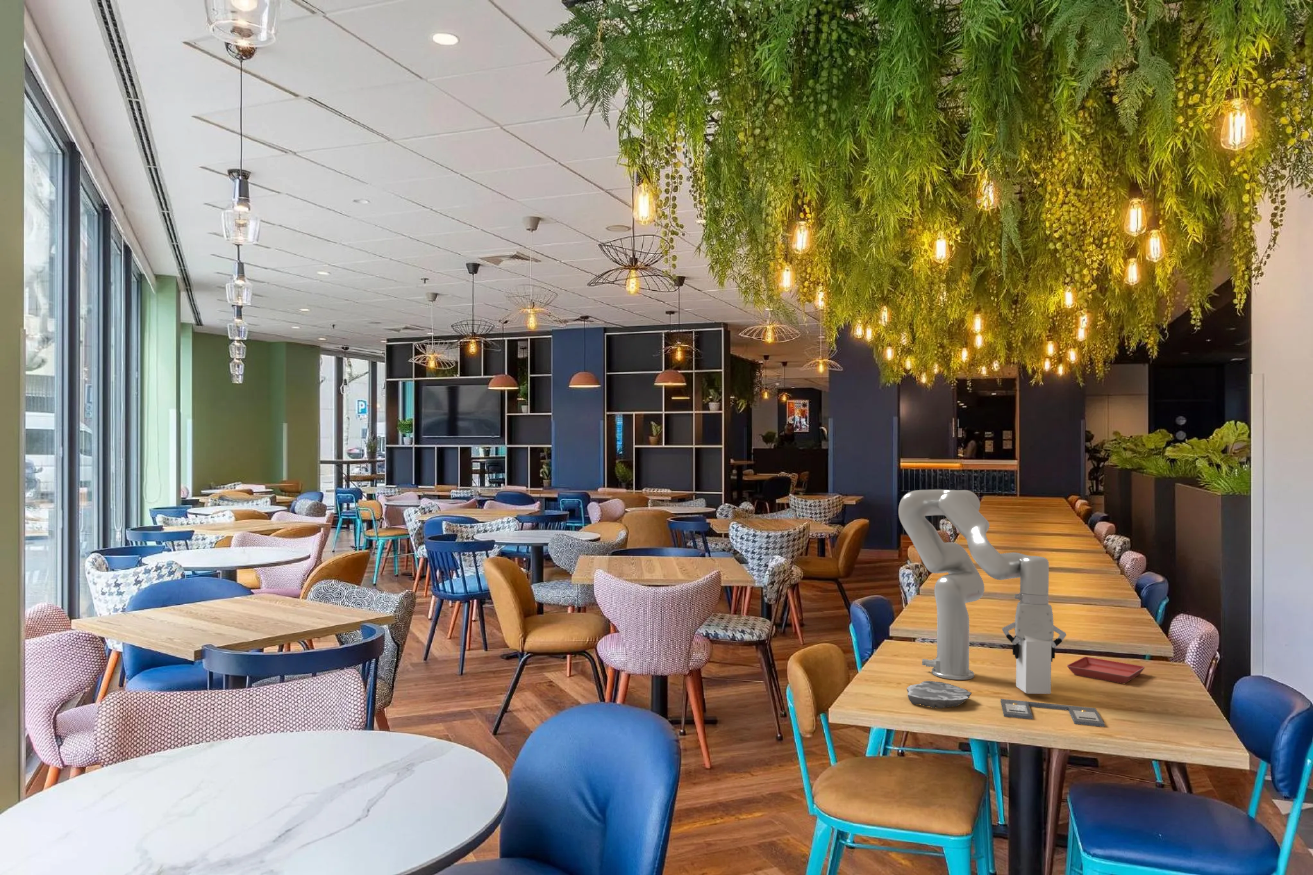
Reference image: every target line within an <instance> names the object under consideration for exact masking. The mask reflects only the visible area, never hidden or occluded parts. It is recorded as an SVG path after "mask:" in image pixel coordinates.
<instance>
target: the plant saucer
mask: <svg viewBox="0 0 1313 875" xmlns="http://www.w3.org/2000/svg"><path fill="white" fill-rule="evenodd" d="M1066 667H1067V668H1068V669H1069V670H1070V671H1071V673H1072V674H1073V675H1074V676H1078V677H1079V676H1080V677H1085V678H1091V679H1094V680H1095V679H1096V680H1101V681H1106V682H1111V681H1112V683H1117V684H1122V683H1125V684H1126V683H1128V682H1130V681H1129V680H1132V679H1133V680H1134V679H1135V678H1136V677H1138V676H1139V675H1140V674H1141V673H1142V672H1143V670H1145V668H1146V667H1145V666H1143V665H1137V664H1131V663H1126V662H1120V661H1115V660H1109V659H1102V658H1096V657H1090V656H1089V657H1088V656H1084V657H1081V658H1079V659H1077V660H1075V661H1073V662H1071V663H1069V664H1067V665H1066Z"/></svg>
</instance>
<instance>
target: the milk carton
mask: <svg viewBox="0 0 1313 875" xmlns="http://www.w3.org/2000/svg"><path fill="white" fill-rule="evenodd" d="M1024 636H1025V639H1020V640H1019V641H1018V659H1016V658H1015V660H1016V661H1015V662H1016V663H1015V667H1016V668H1015V669H1016V670H1015V686H1016V688H1018V689H1019V690H1021V691H1022V692H1024V693H1025V694H1030V695H1031V694H1034V695H1035V694H1036V695H1037V694H1039V695H1041V694H1043V695H1045V694H1046V695H1051V693H1052V690H1051V689H1052V662H1051V640H1050V641H1045V640H1039V639H1035V638H1032V637H1029V636H1026V635H1024Z"/></svg>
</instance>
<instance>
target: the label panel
mask: <svg viewBox="0 0 1313 875" xmlns="http://www.w3.org/2000/svg"><path fill="white" fill-rule="evenodd" d="M1000 704H1001V710H1002V715H1003V717H1006V718H1016V719H1025V720H1034V716H1033V714H1032V711H1031V708H1040V709H1041V708H1042V709H1049V710H1051V709H1052V710H1061V711H1063V710H1064V711H1068V713H1069V715H1070V717H1071V719H1072V721H1073V723H1074V725H1081V724H1082V725H1083V726H1090V727H1091V726H1092V727H1100V726H1101V727H1102V728H1105V726H1106V725H1105V722H1104V721H1103V718H1102V717H1101V715H1100V713H1099V712H1098V710H1097V709H1096V708H1095V707H1089V706H1078V705H1077V706H1076V705H1069V704H1068V705H1067V704H1058V703H1047V702H1036V701H1027V700H1018V699H1017V700H1015V699H1009V698H1008V699H1007V698H1005V699H1004V698H1000ZM1029 706H1030V707H1029ZM1082 725H1081V726H1082Z"/></svg>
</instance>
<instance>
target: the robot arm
mask: <svg viewBox="0 0 1313 875" xmlns="http://www.w3.org/2000/svg"><path fill="white" fill-rule="evenodd" d="M980 507H981V501H980V499H979V497H978V496H977V494H976V493H974V492H973V491H971V490H967V489H960V490H959V489H956V490H955V489H919V490H918V489H917V490H916V489H915V490H912V491H908V492H907V493H905V494H904V495H903V496H902V497H901V499H900V502H899V505H898V518H899V521H900V523H901V525H902V527H903V529H904V530H905V532H906V534H907V535H908V537H909V538H910V540H911V542H912V544H913V546H914V548H915V550H916V552H917V553H918V556H919V557H920V559H921V561H922V563H923V566H925V569H926V570H928V572H930V573H932V574H945V573H948V574H945V575H942V576H940V577H939V578H938V579H937V581H936V582H935V584H934V593H933V594H934V598H935V603H936V618H937V619H936V625H937V626H936V633H937V634H936V656H935V658H932V659H925V658H922V659H921V665H922V666H925V667H927V668H930V667H932V668H931V673H932V675H933V676H936V677H938V678H943V679H945V680H946V679H947V680H956V681H961V680H962V681H963V680H965V681H966V680H971V679H973V678H974V677H975V672H974V671H973V670H970V616H969V611H968V608H967V605H966V604H968V603H973V602H976V601H978V600H980V599H981V598H982V597H983V595H984V593H985V584H984V581H983V578H982V576H981V574H980V573H979V571H978V569H977V567H976V566H975V564H974V562H973V560H974V561H975V563H976V564H977V565H978V566H979V567H980V569H981V570H983V572H984V573H986V575H988V576H989V577H991V578H992V579H995V580H998V581H1002V580H1004V581H1005V580H1010V579H1017V578H1019V579H1020V581H1019V582H1020V583H1019V589H1020V590H1019V593H1015V594H1014V600H1016V599H1017V600H1018V601H1019V602H1017V605H1016V609H1015V617H1014V622H1012V623H1009V624H1007V625H1006V626H1004V627H1002V628H1001V629H1002V632H1003V634H1004V635H1005V636H1006V639H1007V640H1008V641H1009V642H1011V644H1012V655H1013V656H1014V659H1015V660H1016V659H1018V641H1019V640H1020V639H1025V636H1024V635H1026V636H1029V637H1032V638H1035V639H1039V640H1045V641H1050V640H1051V663H1053V660H1054V659H1055V658H1056V648H1057V647H1058V646H1059V645H1060V644H1061V643H1062V642H1063V641H1064V639H1065V638H1066V637H1067V633H1066V632H1065V631H1063V630H1062V629H1061V628H1058V627H1057V626H1055V625H1054V615H1053V614H1054V613H1053V608H1052V605H1051V604H1049V584H1050V583H1049V582H1050V579H1049V575H1050V572H1049V569H1050V564H1049V560H1048V559H1047V558H1046V557H1044V556H1037V555H1027V554H1024V553H1021V552H1014V551H1013V552H1004V553H1000V552H999V551H998V550H997V549H996V548H995V547H994V546H993V545H992V543H990V541H989V540H988V537H987V533H988V531H989V528H990V523H989V520H987V518H986V517H985V516H983V514H982V513H981V512H980V511H979V510H980V509H981V508H980ZM928 516H945V517H946V519H947V520H948V521H949V522H950V523H951V524H952V525H953V526H954V528H955V529H956V530H958V532H959V533H961V535H962V536H963V537H964V539H965V540H966V542H967V546H968V550H969V553H970V555H971V556H970V555H969V553H968V551H967V550H966V549H965V548H964V547H963V546H962V545H960V544H959V543H957V542H952V541H951V542H950V541H949V542H945V541H944V540H943V539H942V538H941V536H940V534H939V533H938V531H937V529H936V527H935V526H934V525H933V524H932V523H931V522H930V521H929V520H928V519H927V518H926V517H928ZM971 557H972V558H971ZM972 559H973V560H972ZM1013 629H1014V633H1015V635H1014V636H1012V635H1011V633H1010V630H1013ZM1054 632H1055V633H1057V634H1058V637H1056V638H1055V639H1054V636H1055V633H1054ZM1053 639H1054V640H1053Z"/></svg>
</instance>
